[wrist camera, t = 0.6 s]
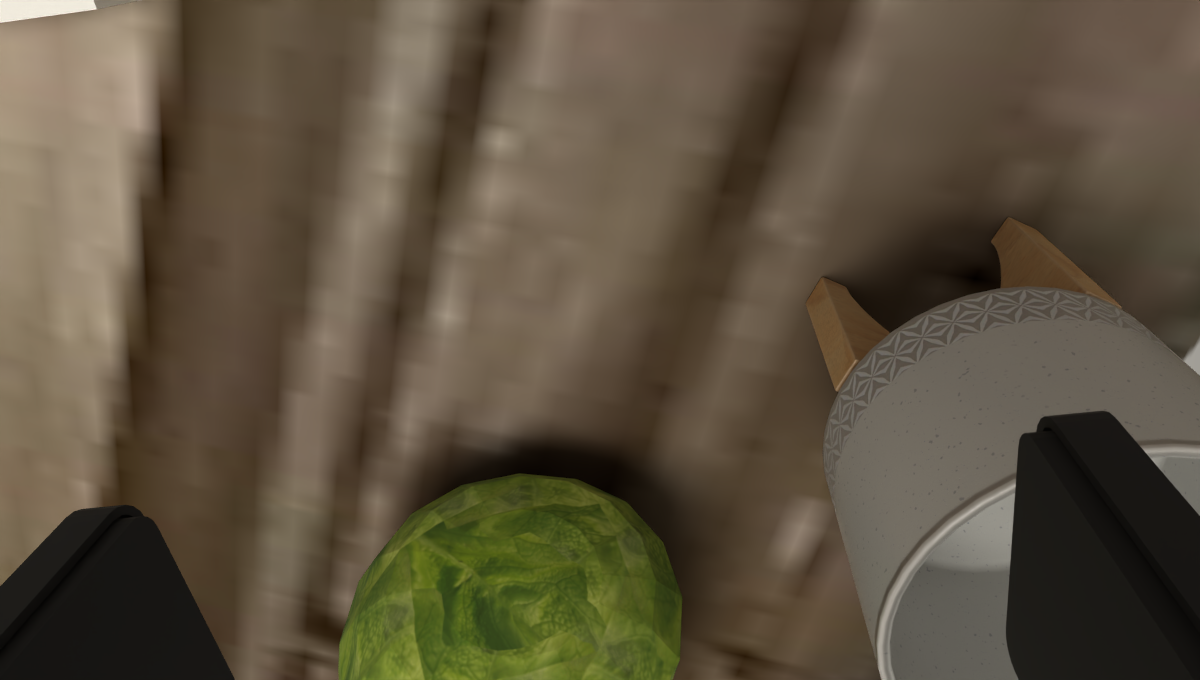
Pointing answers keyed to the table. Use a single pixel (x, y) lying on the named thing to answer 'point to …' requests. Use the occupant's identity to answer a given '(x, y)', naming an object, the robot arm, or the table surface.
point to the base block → (50, 7)
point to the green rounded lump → (517, 590)
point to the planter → (976, 441)
